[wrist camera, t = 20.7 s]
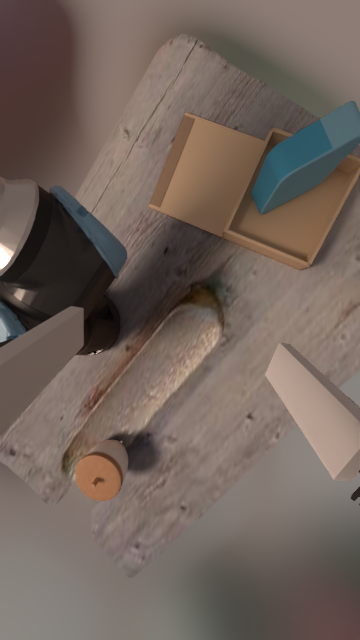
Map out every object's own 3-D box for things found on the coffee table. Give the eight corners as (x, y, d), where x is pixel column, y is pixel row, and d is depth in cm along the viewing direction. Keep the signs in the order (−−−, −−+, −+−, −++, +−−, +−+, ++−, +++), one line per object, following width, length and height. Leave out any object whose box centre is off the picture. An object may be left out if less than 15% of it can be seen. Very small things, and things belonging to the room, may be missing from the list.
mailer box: (149, 207, 41) (144, 198, 37) (185, 114, 38) (183, 95, 35) (300, 270, 38) (309, 267, 34) (351, 174, 35) (367, 160, 32)
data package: (309, 163, 35) (361, 93, 24) (319, 185, 35) (376, 126, 24) (248, 197, 37) (268, 148, 26) (258, 217, 37) (282, 178, 26)
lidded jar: (129, 428, 47) (110, 459, 38) (139, 468, 47) (122, 508, 38) (91, 433, 48) (63, 464, 39) (100, 471, 49) (76, 510, 40)
